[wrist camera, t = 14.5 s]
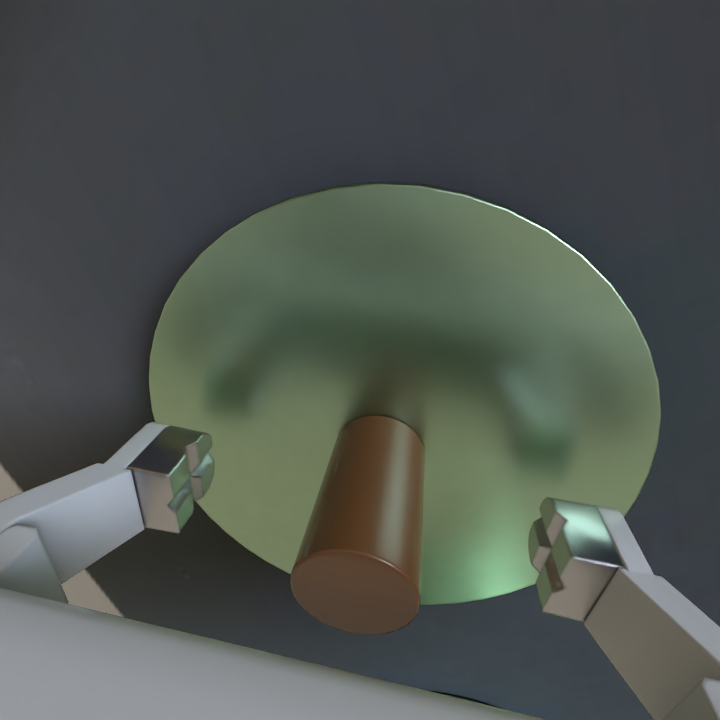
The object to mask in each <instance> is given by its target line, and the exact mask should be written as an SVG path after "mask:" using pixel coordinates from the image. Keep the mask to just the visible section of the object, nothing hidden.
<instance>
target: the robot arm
mask: <svg viewBox="0 0 720 720" xmlns="http://www.w3.org/2000/svg"><path fill="white" fill-rule="evenodd" d="M212 446H213V444H212V438H211V435H210V434H208V433H205V432H200V431H196V430H191V429H186V428H182V427H177V426H172V425H171V426H170V425H165V424H161V423H156V422H151V423H148V424H146V425H145V426H144V427H143V428H142V429H140V430H139V431H138V432H137V433H136V434H135V435H134V436H133V437H132V438H131V439H130V440H129V441H128V442H127V443H126V444H124V445H123V446H122V447H121V448H120V449H119V450H118V451H117V452H116V453H115V454H114V455H113V456H112V457H111V458H109V459H108V460H107V461H106V462H105V463H104V464H100V463H96V464H94V465H91V466H89V467H86V468H84V469H81V470H79V471H76V472H73V473H71V474H68V475H66V476H63V477H61V478H58V479H56V480H53V481H51V482H48V483H46V484H43V485H41V486H38V487H35V488H33V489H30V490H28V491H25V492H23V493H20V494H18V495H15V496H13V497H10V498H8V499H5V500H2V501H0V720H547V719H543V718H539V717H534V716H530V715H526V714H522V713H518V712H514V711H510V710H506V709H501V708H497V707H493V706H489V705H485V704H481V703H477V702H472V701H468V700H464V699H460V698H456V697H452V696H448V695H443V694H439V693H435V692H431V691H427V690H423V689H419V688H414V687H410V686H406V685H402V684H398V683H394V682H390V681H385V680H381V679H377V678H373V677H369V676H365V675H361V674H357V673H352V672H348V671H344V670H340V669H336V668H332V667H327V666H323V665H319V664H315V663H311V662H307V661H302V660H298V659H294V658H290V657H286V656H282V655H277V654H273V653H269V652H265V651H261V650H257V649H252V648H248V647H244V646H240V645H236V644H232V643H227V642H223V641H219V640H215V639H211V638H207V637H203V636H198V635H194V634H190V633H186V632H182V631H178V630H173V629H169V628H165V627H161V626H157V625H153V624H149V623H144V622H140V621H136V620H132V619H128V618H124V617H120V616H115V615H111V614H107V613H102V612H99V611H95V610H90V609H86V608H82V607H78V606H74V605H70V604H68V600H67V598H66V595H65V593H64V590H63V588H62V586H61V584H62V583H63V582H65V581H67V580H68V579H70V578H71V577H73V576H74V575H76V574H77V573H79V572H80V571H82V570H83V569H85V568H86V567H88V566H90V565H91V564H93V563H94V562H96V561H97V560H99V559H100V558H102V557H103V556H105V555H106V554H108V553H109V552H111V551H112V550H114V549H115V548H117V547H118V546H120V545H121V544H123V543H124V542H126V541H127V540H129V539H131V538H132V537H134V536H135V535H137V534H138V533H140V532H141V531H143V530H144V529H145V528H144V527H147V528H152V529H158V530H163V531H168V532H174V533H180V531H181V530H182V528H183V527H184V525H185V524H186V522H187V521H188V519H189V518H190V516H191V515H192V513H193V512H194V506H193V502H195V501H197V500H199V499H200V498H202V497H204V495H205V494H206V492H207V491H208V489H209V488H210V485H211V482H212V479H213V477H214V469H215V464H214V459H213V458H212V456H211V455H210V454H209V453H208V452H209V450H210V449H211V448H212ZM539 510H540V513H541V518H539V519H537V520H536V521H534V522H533V524H532V526H531V529H530V532H529V539H528V551H529V557H530V562H531V564H532V566H533V567H534V568H535V569H536V570H537V571H538V572H539V576H538V578H537V580H536V582H535V583H536V587H537V591H538V595H539V599H540V604H541V608H542V612H545V613H549V614H553V615H557V616H561V617H565V618H569V619H573V620H578V621H582V622H584V626H585V627H586V628H587V630H588V631H589V632H590V634H591V635H592V636H593V638H594V639H595V641H596V642H597V643H598V645H599V646H600V647H601V649H602V650H603V651H604V653H605V654H606V655H607V657H608V658H609V659H610V661H611V662H612V663H613V665H614V666H615V668H616V669H617V670H618V672H619V673H620V674H621V676H622V677H623V678H624V680H625V681H626V682H627V684H628V685H629V686H630V688H631V689H632V690H633V692H634V693H635V695H636V696H637V697H638V699H639V700H640V701H641V703H642V704H643V705H644V707H645V708H646V709H647V711H648V712H649V713H650V715H651V716H652V717H653V719H654V720H720V627H719V626H718V625H717V624H715V623H714V622H713V621H712V620H711V619H710V618H709V617H707V616H706V615H705V614H704V613H703V612H702V611H701V610H699V609H698V608H697V607H696V606H695V605H694V604H692V603H691V602H690V601H689V600H688V599H687V598H686V597H684V596H683V595H682V594H681V593H680V592H679V591H678V590H676V589H675V588H674V587H673V586H672V585H671V584H670V583H668V582H667V581H666V580H665V579H664V578H663V577H660V576H655V575H654V574H653V572H652V570H651V568H650V566H649V564H648V563H647V561H646V559H645V557H644V555H643V553H642V551H641V549H640V547H639V546H638V544H637V542H636V540H635V538H634V536H633V534H632V532H631V530H630V528H629V527H628V525H627V523H626V521H625V519H624V517H623V515H622V514H621V512H619V511H618V510H617V509H614V508H608V507H603V506H597V505H590V504H584V503H579V502H573V501H567V500H562V499H556V498H551V497H546V498H545V499H544V500H543V501H542V503H541V506H540V508H539Z"/></svg>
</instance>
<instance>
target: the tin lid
mask: <svg viewBox="0 0 720 720" xmlns="http://www.w3.org/2000/svg"><path fill="white" fill-rule="evenodd" d="M149 391H150V399H151V408H152V413H153V417H154V420H155V422H156V423H161V424H165V425H170V426H171V425H172V426H177V427H182V428H186V429H191V430H196V431H200V432H205V433H208V434H210V435H211V438H212V444H213V446H212V448H211V449H210V450H209V452H208V453H209V454H210V455H211V456H212V458H213V459H214V464H215V469H214V477H213V479H212V482H211V485H210V488H209V489H208V491H207V492H206V494H205V495H204V497H202V498H200V499H199V500H197V501H196V502H197V503H198V504H199V505H200V507H201V508H202V509H203V510H204V511H205V512H206V513H207V515H208V516H209V517H210V518H211V519H212V520H213V521H215V522H216V523H217V524H218V525H219V526H220V527H221V528H222V529H223V530H224V531H225V532H226V533H227V534H229V535H230V536H231V537H232V538H234V539H235V540H236V541H238V542H239V543H240V544H241V545H243V546H244V547H245V548H247V549H248V550H250V551H251V552H253V553H254V554H256V555H257V556H259V557H260V558H262V559H263V560H265V561H267V562H268V563H270V564H272V565H274V566H276V567H278V568H280V569H281V570H283V571H285V572H287V573H289V574H291V577H290V583H291V589H292V593H293V595H294V597H295V599H296V600H297V602H298V603H299V604H300V605H301V607H302V608H303V609H304V610H305V611H307V612H308V613H309V614H310V615H312V616H313V617H314V618H316V619H318V620H319V621H321V622H323V623H325V624H327V625H329V626H331V627H334V628H337V629H340V630H343V631H347V632H351V633H357V634H369V635H373V634H385V633H390V632H393V631H396V630H399V629H401V628H403V627H405V626H406V625H408V624H409V623H410V622H411V621H412V620H413V619H414V618H415V616H416V615H417V613H418V610H419V608H420V604H424V605H435V604H451V603H462V602H468V601H475V600H482V599H487V598H491V597H495V596H499V595H503V594H507V593H510V592H513V591H516V590H519V589H522V588H525V587H527V586H530V585H533V584H536V583H535V582H536V580H537V578H538V576H539V572H538V571H537V570H536V569H535V568H534V567H533V566H532V564H531V562H530V557H529V551H528V539H529V532H530V529H531V526H532V524H533V522H534V521H536V520H537V519H539V518H541V513H540V510H539V508H540V506H541V503H542V501H543V500H544V499H545V498H546V497H551V498H556V499H562V500H567V501H573V502H579V503H584V504H590V505H597V506H603V507H608V508H614V509H617V510H618V511H619V512H621V514H622V515H623V517H625V515H626V514H627V512H628V511H629V510H630V508H631V507H632V505H633V504H634V502H635V501H636V500H637V498H638V496H639V494H640V492H641V490H642V488H643V486H644V484H645V482H646V479H647V477H648V475H649V473H650V470H651V467H652V463H653V460H654V456H655V453H656V450H657V446H658V440H659V430H660V420H661V405H660V392H659V380H658V377H657V373H656V369H655V365H654V362H653V358H652V354H651V351H650V347H649V345H648V343H647V341H646V339H645V337H644V335H643V332H642V330H641V328H640V326H639V324H638V322H637V320H636V318H635V316H634V314H633V312H632V311H631V310H630V308H629V307H628V305H627V304H626V303H625V301H624V300H623V298H622V297H621V296H620V294H619V293H618V291H617V290H616V289H615V287H614V286H613V284H612V283H611V282H610V281H609V280H608V279H607V278H606V277H605V276H604V275H603V274H602V273H601V272H600V271H599V270H598V269H597V268H596V267H595V266H594V265H593V264H592V263H591V262H590V261H589V260H588V259H587V258H586V257H585V256H584V255H583V254H582V253H581V252H579V251H578V250H577V249H575V248H574V247H572V246H571V245H570V244H568V243H567V242H566V241H564V240H563V239H561V238H560V237H559V236H557V235H556V234H554V233H553V232H552V231H550V230H549V229H548V228H546V227H545V226H543V225H541V224H539V223H537V222H535V221H534V220H532V219H530V218H528V217H526V216H524V215H522V214H520V213H518V212H516V211H514V210H512V209H510V208H508V207H506V206H504V205H501V204H499V203H496V202H493V201H490V200H487V199H484V198H481V197H478V196H475V195H472V194H469V193H466V192H463V191H458V190H453V189H447V188H442V187H437V186H432V185H426V184H421V183H398V182H369V183H359V184H349V185H339V186H334V187H330V188H326V189H322V190H318V191H314V192H310V193H306V194H302V195H298V196H295V197H292V198H290V199H287V200H285V201H282V202H280V203H278V204H275V205H273V206H271V207H268V208H266V209H263V210H261V211H259V212H256V213H255V214H253V215H252V216H250V217H248V218H247V219H245V220H243V221H242V222H240V223H239V224H237V225H235V226H234V227H232V228H231V229H229V230H227V231H226V232H225V233H223V234H222V235H221V236H220V237H219V238H218V239H217V240H215V241H214V242H213V243H212V244H211V245H210V246H208V247H207V248H206V249H205V250H204V251H203V252H202V253H200V255H199V256H198V257H197V258H196V259H195V261H194V262H193V263H192V264H191V265H190V267H189V268H188V269H187V270H186V271H185V273H184V274H183V275H182V276H181V278H180V279H179V281H178V282H177V284H176V286H175V288H174V289H173V291H172V293H171V295H170V296H169V298H168V300H167V302H166V303H165V306H164V308H163V311H162V314H161V316H160V319H159V322H158V324H157V327H156V330H155V333H154V338H153V344H152V349H151V354H150V363H149Z"/></svg>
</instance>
